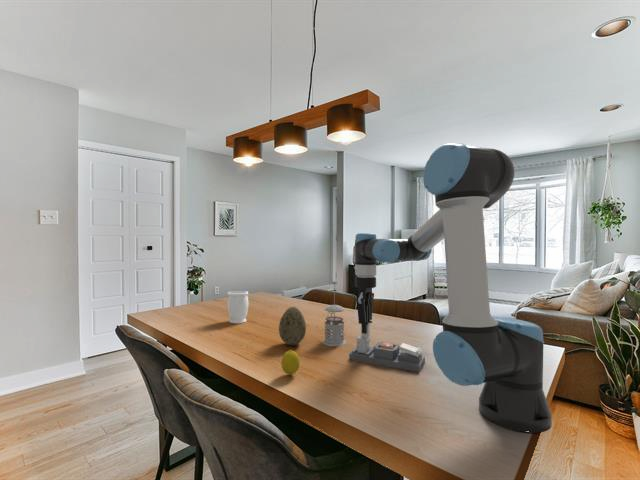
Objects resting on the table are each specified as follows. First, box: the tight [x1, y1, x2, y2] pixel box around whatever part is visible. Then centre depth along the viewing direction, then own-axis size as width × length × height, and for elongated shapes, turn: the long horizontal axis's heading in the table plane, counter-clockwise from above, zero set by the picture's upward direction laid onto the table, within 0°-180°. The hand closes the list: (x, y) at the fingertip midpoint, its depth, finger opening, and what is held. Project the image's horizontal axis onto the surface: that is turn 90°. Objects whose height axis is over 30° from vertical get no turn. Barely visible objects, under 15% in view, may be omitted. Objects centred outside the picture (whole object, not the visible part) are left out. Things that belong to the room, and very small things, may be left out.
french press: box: [322, 280, 347, 347], centre depth 135 cm, size 10×12×25 cm
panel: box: [348, 341, 426, 373], centre depth 114 cm, size 10×24×5 cm, turn 63°
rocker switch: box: [399, 342, 422, 357], centre depth 111 cm, size 4×6×2 cm
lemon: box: [281, 349, 300, 377], centre depth 102 cm, size 6×6×8 cm
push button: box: [380, 342, 394, 350], centre depth 114 cm, size 4×4×3 cm
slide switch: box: [356, 335, 370, 354], centre depth 116 cm, size 3×4×5 cm
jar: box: [226, 290, 249, 324], centre depth 166 cm, size 11×10×15 cm
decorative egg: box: [278, 306, 307, 346], centre depth 131 cm, size 11×11×15 cm
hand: (365, 341), depth 118 cm, fingers closed
